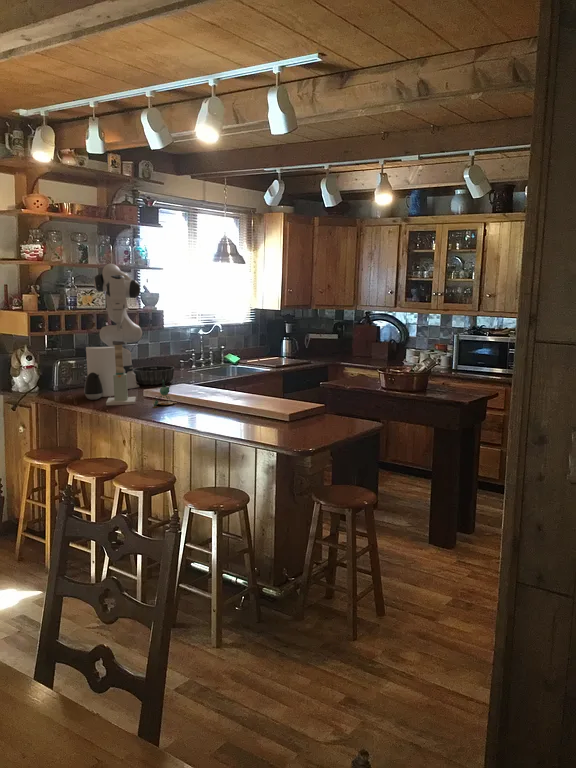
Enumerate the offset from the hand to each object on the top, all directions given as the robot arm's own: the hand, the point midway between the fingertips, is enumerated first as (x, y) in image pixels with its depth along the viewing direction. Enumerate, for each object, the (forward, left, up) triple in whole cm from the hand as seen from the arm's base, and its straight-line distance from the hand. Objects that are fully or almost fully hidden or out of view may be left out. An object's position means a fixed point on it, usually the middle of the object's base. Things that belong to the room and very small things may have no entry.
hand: (119, 329), depth 380 cm
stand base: (+11, 0, -39) cm, 40 cm away
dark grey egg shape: (-3, -16, -39) cm, 43 cm away
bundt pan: (-51, +16, -39) cm, 67 cm away
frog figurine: (+24, +23, -39) cm, 52 cm away
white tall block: (-18, -12, -39) cm, 45 cm away
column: (+11, 0, -31) cm, 33 cm away
